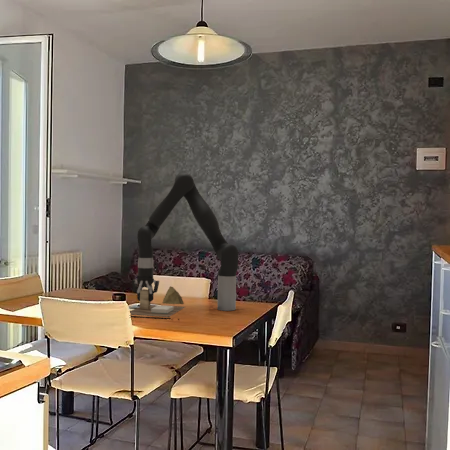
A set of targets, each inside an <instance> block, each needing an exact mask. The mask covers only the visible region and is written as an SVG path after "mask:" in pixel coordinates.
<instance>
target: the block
mask: <svg viewBox="0 0 450 450" xmlns="http://www.w3.org/2000/svg"><path fill="white" fill-rule="evenodd" d="M149 298H150V292H149V290H148V289H145V288H142V290H140V301H139V307H140V309H149V308H150V305H151V302H150V301H149Z"/></svg>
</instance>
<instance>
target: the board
mask: <svg viewBox="0 0 450 450" xmlns="http://www.w3.org/2000/svg"><path fill="white" fill-rule="evenodd" d="M156 306H158V305H157V304H150V308H149V309H140V306H138V307H136V308H134V309H132V310H130V313H131V315H130V316H131V317H130V318H132V319H133V318H137V319H153V320H167V319H169V320H171V318H172V317H171V316H173V315H175V314H176V313H178V312H180V311H181V310H183V309H185V308H186V306H178V305H176V306H175V305H173V306H174V310H173V311H171V312H169V313H168V314H163V313H152V312H151V309H152V308H154V307H156ZM170 317H171V318H170Z"/></svg>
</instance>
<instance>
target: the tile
mask: <svg viewBox="0 0 450 450" xmlns="http://www.w3.org/2000/svg"><path fill="white" fill-rule="evenodd" d="M174 306H175V305H163V304H162V305H161V304H159V305H158V306H156V307H154V308H152V309H151V312H152V313H163V314H168V313H169V312H171V311H173V310H174Z"/></svg>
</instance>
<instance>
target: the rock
mask: <svg viewBox="0 0 450 450" xmlns="http://www.w3.org/2000/svg"><path fill="white" fill-rule="evenodd" d="M161 303H162V304H166V305H167V304H168V305H184V304H185V302H184V300H183V297H182V296H181V294H180V293H179V291H177V290H176V288H174V286H169V287H168V289H167V291H166V293H165V295H164V297H163V299H162V302H161Z"/></svg>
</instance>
